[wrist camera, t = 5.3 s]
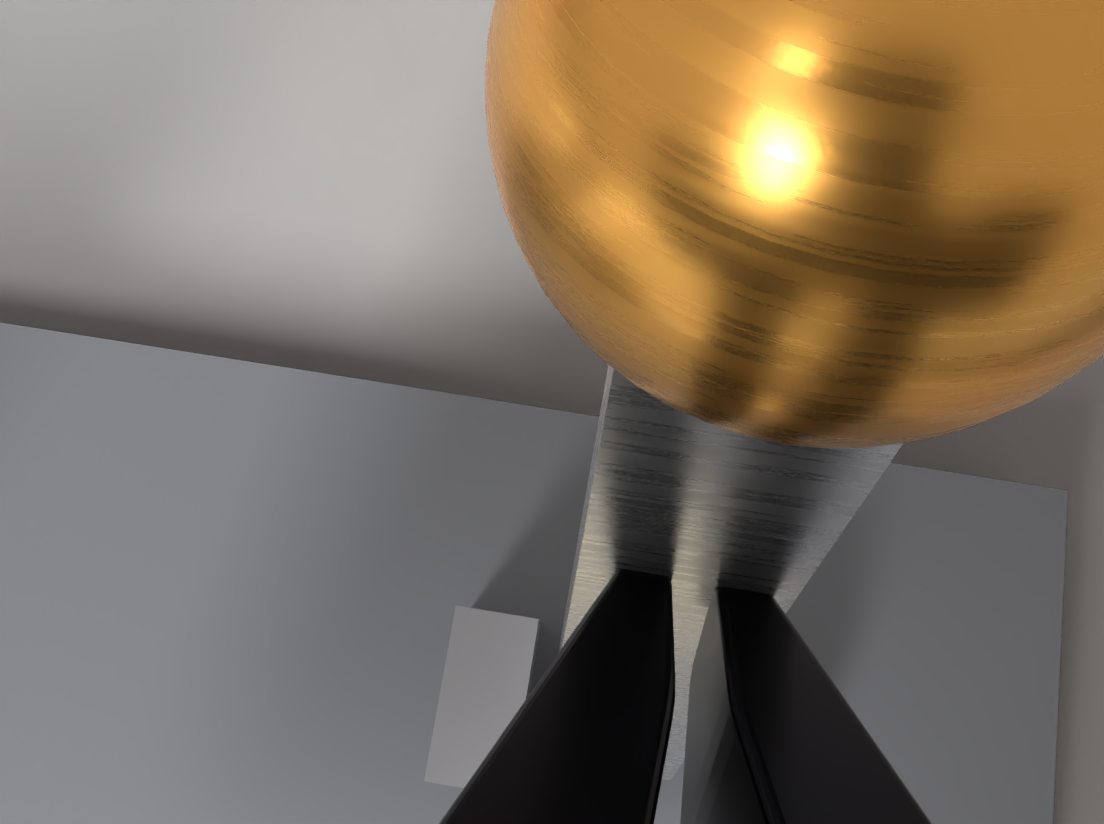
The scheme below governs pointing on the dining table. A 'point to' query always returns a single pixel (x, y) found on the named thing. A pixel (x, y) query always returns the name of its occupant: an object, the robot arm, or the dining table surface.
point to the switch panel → (422, 597)
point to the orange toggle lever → (794, 255)
